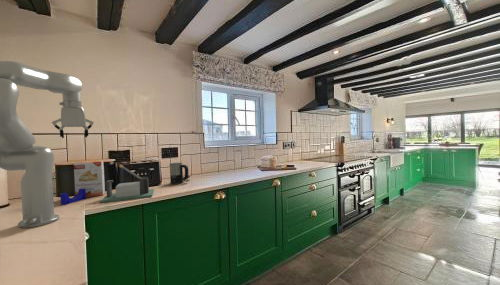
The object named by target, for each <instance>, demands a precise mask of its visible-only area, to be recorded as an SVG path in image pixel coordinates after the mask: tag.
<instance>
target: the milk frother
mask: <svg viewBox="0 0 500 285" xmlns="http://www.w3.org/2000/svg"><path fill="white" fill-rule="evenodd" d="M182 163H183V162H170V163H169V175H170V182H169V184H171V185H176V184H177V185H179V184H182V183H184V181H186V180H188V179H189V178H191V176H190V175H189V166H188V165H187V164H182ZM183 169H184V171H183ZM183 172H184V173H183ZM183 174H184V175H183Z"/></svg>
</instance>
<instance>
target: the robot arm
mask: <svg viewBox="0 0 500 285" xmlns="http://www.w3.org/2000/svg"><path fill="white" fill-rule="evenodd" d="M18 86H19V87H25V88H31V89H33V90H34V89H35V90H44V91H49V92H51V93H53V94H61V95H62V102H59V106H61V108H60V109H61V110H60V118H58V119H56V120H53V121H52V122H51V124H52V125H53V127H55V128H56V129H57V130H58V131H59V137H60V138H61V139H64V138H65V136H64V135H65V133H64V130H63V129H65V128H74V127H77V128H80V127H82V128H83V129H84V131H83V132H84V138H88V137H89V130H90V129H91V128H92V127H93V125H94V121H92V120H90V119H88V118H86V113H85V109H84V107H82V98H81V97H82V95H81V94H82V93H81V91H82V89H83V84H82V81H81V80H80V79H79V78H78V77H76V76H74V75H70V74H66V73H61V72H55V71H52V70H46V69H40V68H37V67H33V66H31V65H27V64H23V63H20V62H18V61H17V62H16V61H13V60H12V61H10V60H0V169H2V170H4V171H12V172H13V171H25V173H24V174H23V176H22V177H21V180H20V192H21V193H20V198H21V212H22V220H20V221H19V222H18V223H17V227H18V228H19V229H21V228H22V229H27V228H34V227H39V226H43V225H48V224H52V223H54V222H56V221H57V220H59V219H60V215H59V214H55V207H54V206H55V203H54V188H53V165H54V160H55V155H54V151H53V150H52V149H50V148H49V147H46V146H40V145H36V138H35V136H34V135H33V133H32V132H31V130H30V129H29V128H28V127H27V126H26V124H25V123H24V122H23V121H22V119H21V118H20V116H19V115H18V114H17V104H18V99H19V96H20V91H19V87H18ZM58 123H60V124H61V126H59V125H58ZM87 123H89V125H88V126H87Z"/></svg>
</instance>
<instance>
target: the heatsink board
mask: <svg viewBox="0 0 500 285" xmlns="http://www.w3.org/2000/svg"><path fill="white" fill-rule="evenodd" d="M141 178H142V179H139V181H133V182H124V183H118V184H117V185H115V192H113V189H112V187H113V186H112V183H113V182H114V179H112V180H111V179H109V180H107V181H106V182H105V191H106V196H104V198H101V200H100V203H101V204H105V203H112V202H113V203H115V202H120V201H121V202H122V201H131V200H139V199H146V198H152V197H153V194H154V188H150V187H149V186H150V185H149V176H145V177H141Z"/></svg>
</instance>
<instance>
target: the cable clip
mask: <svg viewBox="0 0 500 285" xmlns="http://www.w3.org/2000/svg"><path fill="white" fill-rule="evenodd" d="M59 197H60V199H59V200H60V205H61V206H62V205H63V206H65V205H70V204H73V203H76V202H80V201H83V200H86V199H87V197H86V191H85V189H79V191H78V194H77V195H75V194H74V195H73V197H70V196H69V193H68V192H67V193H65V192H63V193H60V195H59Z"/></svg>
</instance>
